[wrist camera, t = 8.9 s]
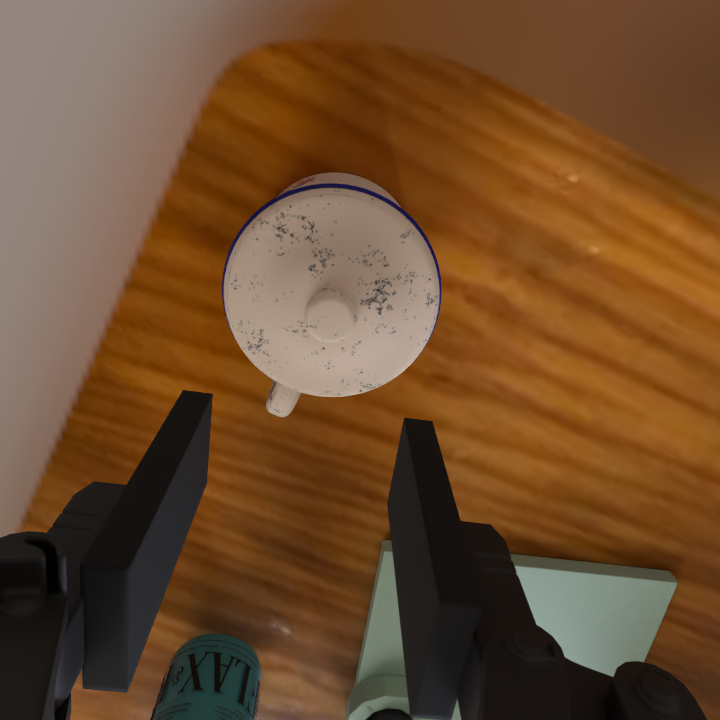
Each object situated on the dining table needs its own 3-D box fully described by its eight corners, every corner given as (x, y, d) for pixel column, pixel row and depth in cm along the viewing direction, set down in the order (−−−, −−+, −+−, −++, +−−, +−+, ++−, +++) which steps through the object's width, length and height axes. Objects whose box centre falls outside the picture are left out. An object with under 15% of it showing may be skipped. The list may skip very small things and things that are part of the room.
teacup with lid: (288, 136, 31) (257, 147, 20) (447, 210, 32) (498, 257, 22) (211, 340, 35) (150, 441, 24) (356, 397, 36) (361, 516, 26)
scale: (341, 714, 46) (341, 752, 43) (375, 538, 40) (378, 569, 37) (600, 736, 48) (615, 775, 45) (669, 570, 42) (692, 602, 39)
